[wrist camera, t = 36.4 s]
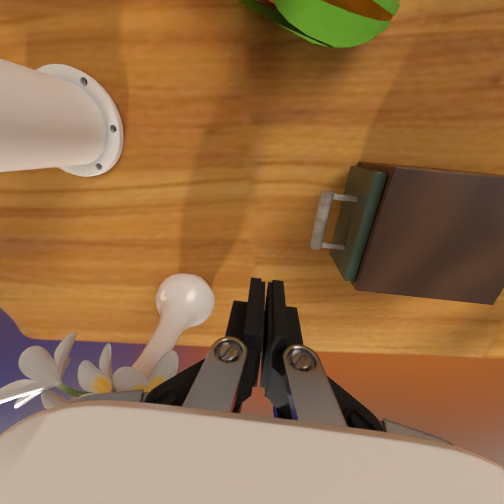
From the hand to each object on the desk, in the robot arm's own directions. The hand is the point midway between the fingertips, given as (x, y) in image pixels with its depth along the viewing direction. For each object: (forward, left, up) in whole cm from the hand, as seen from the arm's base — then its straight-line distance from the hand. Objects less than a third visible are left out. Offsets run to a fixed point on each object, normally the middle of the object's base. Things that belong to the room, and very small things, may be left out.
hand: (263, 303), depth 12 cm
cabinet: (+19, 0, -23) cm, 30 cm away
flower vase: (-12, -16, -23) cm, 31 cm away
